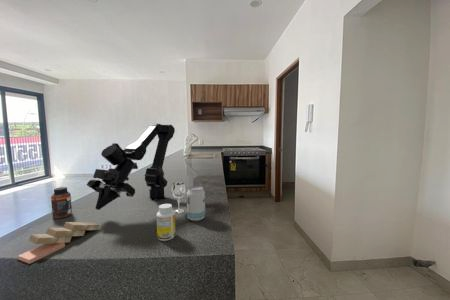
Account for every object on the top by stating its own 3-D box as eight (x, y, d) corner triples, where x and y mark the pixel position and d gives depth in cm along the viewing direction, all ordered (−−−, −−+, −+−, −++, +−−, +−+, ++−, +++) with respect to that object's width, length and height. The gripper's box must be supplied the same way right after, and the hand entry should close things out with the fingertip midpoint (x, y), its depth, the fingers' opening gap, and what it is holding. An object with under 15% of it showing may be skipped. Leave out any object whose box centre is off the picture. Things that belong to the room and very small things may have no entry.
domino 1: (63, 233, 60) (31, 234, 54) (71, 236, 58) (38, 238, 51) (61, 238, 60) (28, 240, 53) (69, 242, 58) (36, 244, 51)
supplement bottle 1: (75, 214, 78) (73, 187, 77) (57, 220, 73) (55, 191, 72) (66, 211, 81) (65, 185, 80) (49, 217, 75) (47, 189, 74)
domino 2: (53, 240, 58) (17, 255, 50) (64, 243, 56) (29, 259, 48) (54, 245, 58) (18, 261, 50) (65, 248, 56) (29, 265, 49)
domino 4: (90, 222, 68) (65, 222, 61) (99, 224, 66) (73, 225, 59) (89, 227, 68) (63, 227, 61) (97, 229, 65) (71, 230, 59)
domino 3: (77, 227, 64) (48, 227, 57) (85, 230, 62) (56, 230, 55) (75, 232, 64) (45, 233, 57) (83, 235, 61) (53, 236, 55)
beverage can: (205, 221, 72) (205, 190, 71) (186, 223, 70) (186, 191, 69) (204, 214, 78) (204, 185, 77) (187, 215, 77) (186, 186, 76)
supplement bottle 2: (169, 230, 65) (168, 201, 64) (178, 236, 62) (178, 205, 61) (153, 237, 61) (152, 206, 60) (163, 243, 57) (162, 210, 56)
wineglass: (188, 209, 83) (187, 182, 82) (181, 215, 78) (180, 185, 77) (176, 208, 85) (176, 181, 84) (169, 213, 79) (168, 184, 78)
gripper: (89, 159, 74) (59, 195, 65) (127, 161, 68) (100, 202, 58) (109, 174, 82) (85, 209, 73) (144, 178, 76) (123, 216, 67)
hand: (97, 209), depth 67 cm, fingers closed
